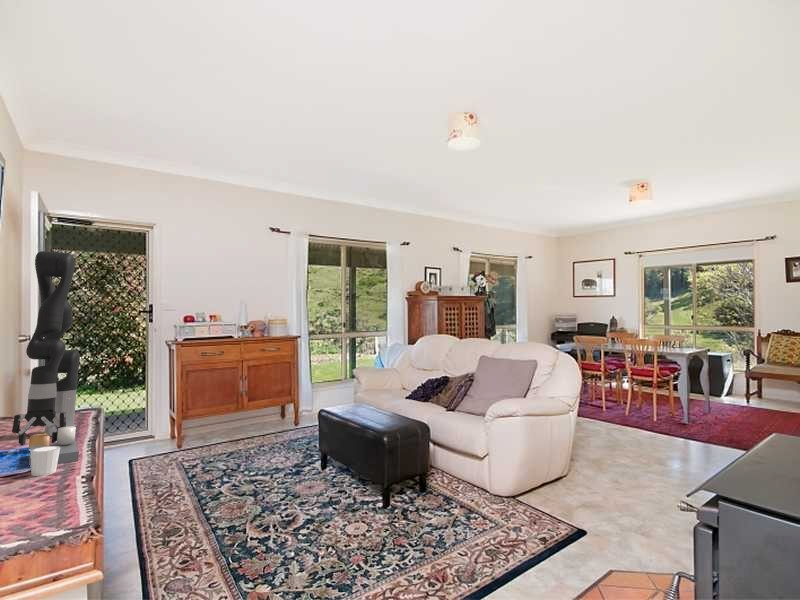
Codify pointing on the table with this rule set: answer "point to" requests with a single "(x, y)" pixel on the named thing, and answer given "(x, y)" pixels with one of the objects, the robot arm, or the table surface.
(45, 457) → the white tapered cup
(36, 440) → the orange wire cap
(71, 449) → the plate
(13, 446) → the table surface
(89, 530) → the table surface
